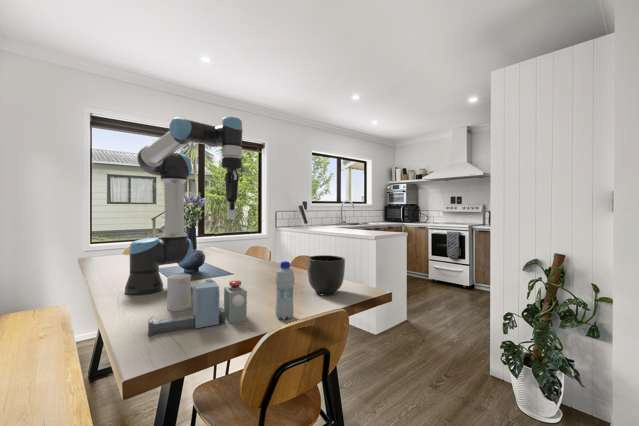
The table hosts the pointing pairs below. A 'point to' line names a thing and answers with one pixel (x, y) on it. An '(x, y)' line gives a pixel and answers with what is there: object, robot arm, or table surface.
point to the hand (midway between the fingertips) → (231, 218)
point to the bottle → (284, 291)
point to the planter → (326, 273)
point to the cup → (178, 292)
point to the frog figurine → (208, 281)
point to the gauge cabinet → (235, 304)
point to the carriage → (206, 304)
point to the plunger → (234, 285)
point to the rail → (176, 323)
